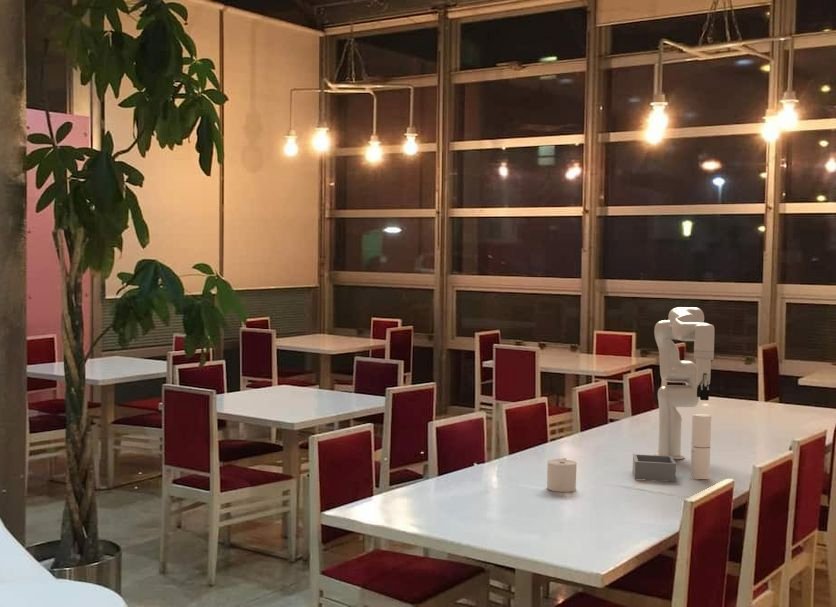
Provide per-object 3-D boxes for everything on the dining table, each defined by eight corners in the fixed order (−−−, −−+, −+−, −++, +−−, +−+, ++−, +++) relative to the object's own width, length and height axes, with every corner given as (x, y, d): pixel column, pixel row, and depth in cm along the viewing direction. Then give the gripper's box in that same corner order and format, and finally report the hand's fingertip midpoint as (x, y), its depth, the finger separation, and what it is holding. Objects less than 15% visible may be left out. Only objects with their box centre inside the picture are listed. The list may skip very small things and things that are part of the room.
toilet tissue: (553, 492, 346) (554, 465, 346) (540, 485, 358) (541, 459, 357) (580, 491, 349) (581, 464, 349) (567, 484, 360) (567, 458, 360)
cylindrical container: (702, 480, 371) (704, 417, 370) (686, 477, 376) (688, 414, 375) (712, 478, 376) (714, 415, 375) (697, 475, 381) (699, 413, 380)
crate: (632, 471, 386) (633, 454, 386) (671, 473, 383) (672, 456, 383) (634, 479, 371) (635, 461, 370) (675, 481, 368) (676, 463, 368)
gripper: (691, 353, 383) (690, 395, 383) (696, 356, 366) (695, 401, 366) (710, 354, 382) (709, 396, 382) (716, 357, 365) (715, 401, 365)
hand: (702, 398), depth 374 cm, fingers open, 9 cm apart
